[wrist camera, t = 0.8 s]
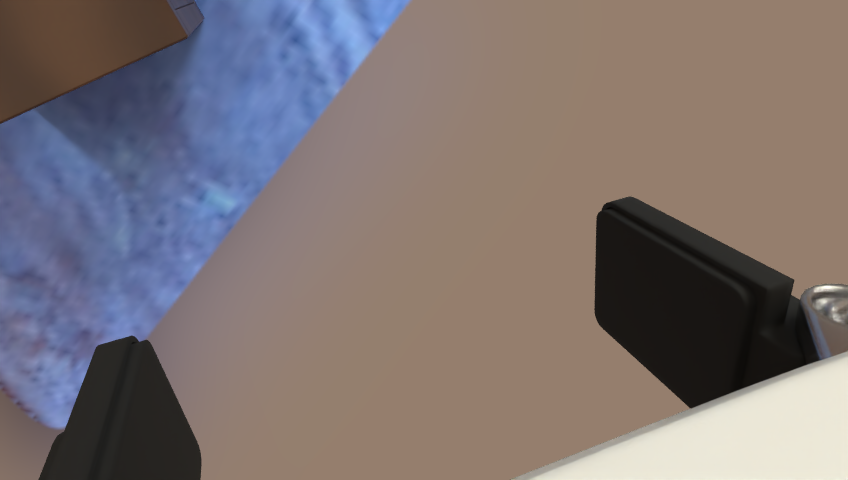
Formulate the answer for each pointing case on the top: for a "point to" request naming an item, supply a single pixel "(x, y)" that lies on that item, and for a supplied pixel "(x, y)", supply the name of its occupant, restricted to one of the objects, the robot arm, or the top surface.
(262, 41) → the top surface
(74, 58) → the cupboard
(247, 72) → the top surface
